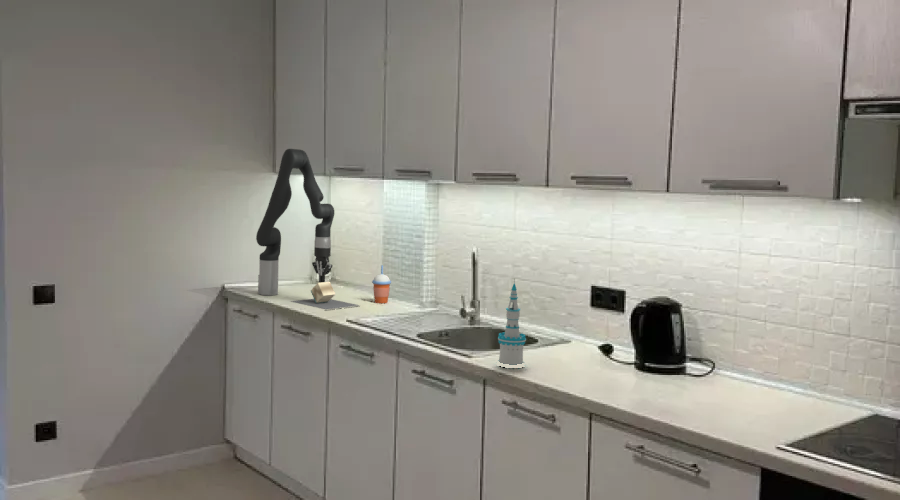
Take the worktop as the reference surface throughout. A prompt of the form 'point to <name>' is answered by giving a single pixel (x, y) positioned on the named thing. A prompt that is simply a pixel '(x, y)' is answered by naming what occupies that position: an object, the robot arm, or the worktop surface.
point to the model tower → (512, 334)
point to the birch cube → (322, 292)
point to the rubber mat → (326, 304)
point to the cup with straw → (381, 287)
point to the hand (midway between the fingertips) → (321, 283)
